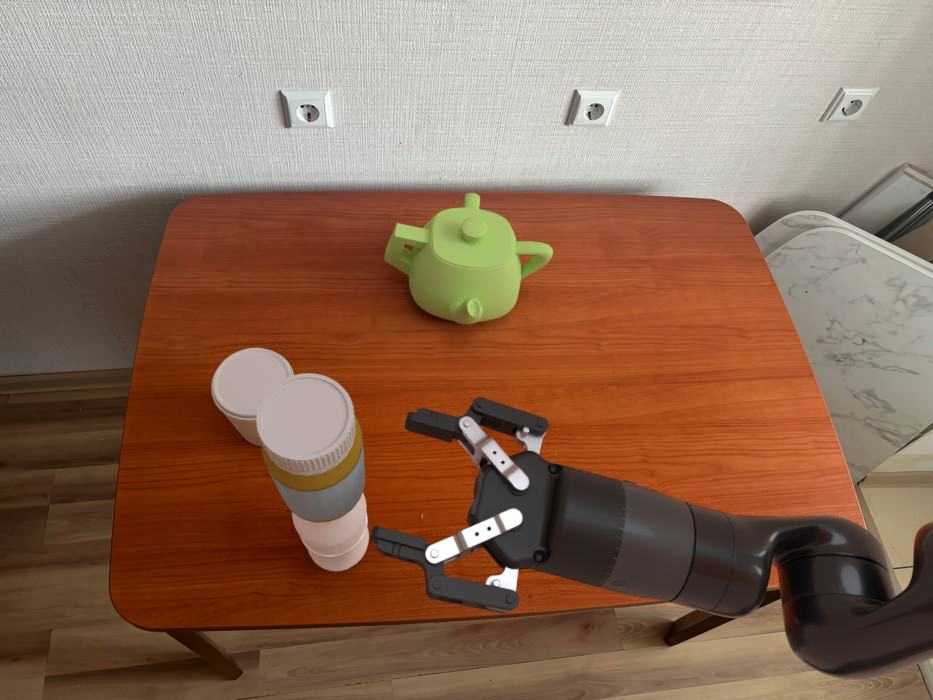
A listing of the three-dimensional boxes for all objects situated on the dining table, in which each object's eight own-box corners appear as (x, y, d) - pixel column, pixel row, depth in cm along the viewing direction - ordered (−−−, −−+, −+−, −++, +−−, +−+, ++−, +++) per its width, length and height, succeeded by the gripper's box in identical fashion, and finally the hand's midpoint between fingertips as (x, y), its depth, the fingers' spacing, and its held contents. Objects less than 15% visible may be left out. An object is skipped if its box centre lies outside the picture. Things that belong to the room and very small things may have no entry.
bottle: (335, 430, 53) (321, 349, 40) (381, 490, 51) (381, 425, 38) (266, 476, 51) (227, 404, 38) (311, 542, 49) (287, 490, 36)
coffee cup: (316, 401, 81) (307, 360, 71) (285, 463, 77) (270, 428, 66) (253, 379, 82) (234, 335, 71) (218, 439, 77) (193, 401, 67)
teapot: (466, 224, 100) (478, 159, 88) (548, 302, 94) (574, 245, 82) (377, 277, 93) (376, 214, 80) (461, 366, 87) (474, 314, 74)
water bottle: (324, 506, 74) (302, 434, 53) (378, 525, 74) (377, 461, 53) (299, 562, 71) (264, 509, 49) (355, 583, 71) (344, 539, 49)
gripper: (582, 645, 42) (359, 585, 42) (604, 457, 49) (414, 406, 49) (619, 637, 35) (355, 566, 35) (638, 422, 42) (419, 364, 42)
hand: (389, 473), depth 42 cm, fingers open, 8 cm apart
